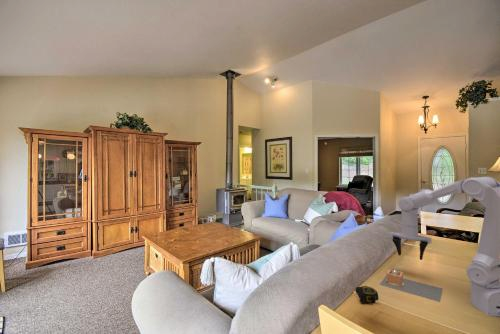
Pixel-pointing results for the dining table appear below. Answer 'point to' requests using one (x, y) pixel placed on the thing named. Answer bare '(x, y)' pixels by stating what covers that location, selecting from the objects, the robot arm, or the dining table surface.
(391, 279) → the collar
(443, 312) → the dining table surface
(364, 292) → the tape measure
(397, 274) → the steel post
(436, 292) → the seat plate
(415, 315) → the dining table surface
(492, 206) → the robot arm
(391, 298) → the dining table surface
